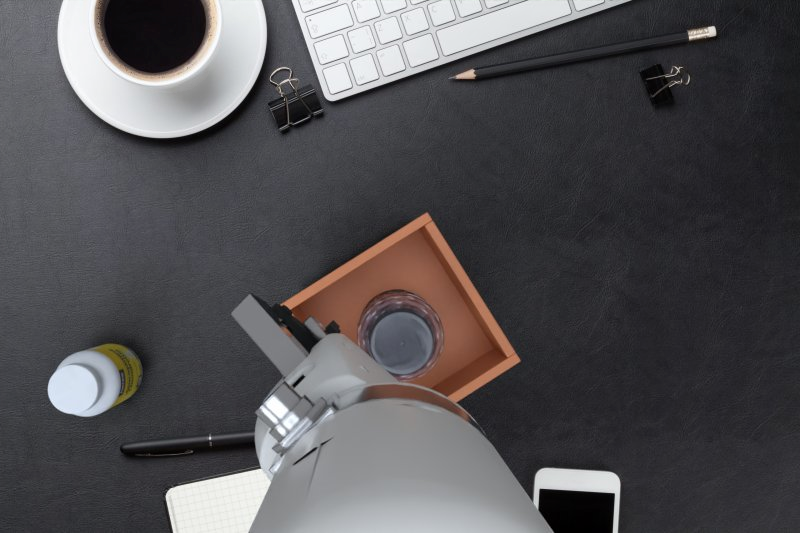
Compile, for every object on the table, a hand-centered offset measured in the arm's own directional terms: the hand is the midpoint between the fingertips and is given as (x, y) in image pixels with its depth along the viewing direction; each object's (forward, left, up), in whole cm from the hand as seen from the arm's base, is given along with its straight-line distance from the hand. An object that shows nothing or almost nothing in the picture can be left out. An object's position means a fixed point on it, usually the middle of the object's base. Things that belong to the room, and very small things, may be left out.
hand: (381, 407), depth 41 cm
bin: (+2, -3, -19) cm, 19 cm away
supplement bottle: (+2, -3, -18) cm, 19 cm away
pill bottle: (+12, +26, -43) cm, 52 cm away
